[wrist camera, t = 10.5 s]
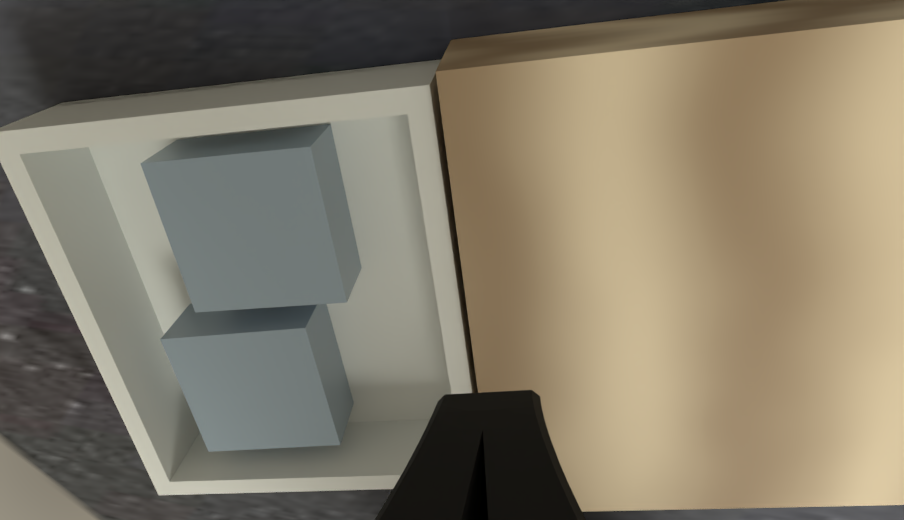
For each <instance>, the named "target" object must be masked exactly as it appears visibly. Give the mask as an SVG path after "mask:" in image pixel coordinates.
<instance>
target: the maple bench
mask: <svg viewBox="0 0 904 520" xmlns="http://www.w3.org/2000/svg"><path fill="white" fill-rule="evenodd" d="M436 79H437V86H438V94H439V102H440V109H441V117H442V124H443V132H444V139H445V147H446V154H447V162H448V169H449V177H450V185H451V192H452V200H453V207H454V215H455V222H456V230H457V237H458V245H459V253H460V260H461V268H462V275H463V283H464V290H465V298H466V305H467V313H468V320H469V328H470V336H471V343H472V351H473V358H474V366H475V373H476V381H477V388H478V393H482V392H500V391H519V390H533V391H534V392H535V393H537V394H538V395H539V396H540V399H541V406H542V411H543V415H544V419H545V423H546V426H547V430H548V433H549V436H550V439H551V442H552V444H553V447H554V449H555V452H556V455H557V457H558V460H559V463H560V465H561V467H562V470H563V472H564V474H565V477H566V479H567V481H568V484H569V486H570V488H571V490H572V492H573V494H574V496H575V498H576V500H577V503H578V505H579V507H580V509H581V511H582V512H587V511H634V510H682V509H729V508H777V507H824V506H872V505H904V0H786V1H777V2H769V3H760V4H752V5H743V6H735V7H726V8H718V9H709V10H701V11H692V12H684V13H675V14H667V15H658V16H650V17H641V18H632V19H624V20H615V21H607V22H598V23H590V24H581V25H573V26H564V27H556V28H547V29H539V30H530V31H522V32H513V33H505V34H496V35H488V36H479V37H471V38H462V39H454V40H451V41H450V43H449V45H448V47H447V49H446V51H445V53H444V55H443V57H442V59H441V61H440V63H439V65H438V67H437V70H436Z"/></svg>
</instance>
